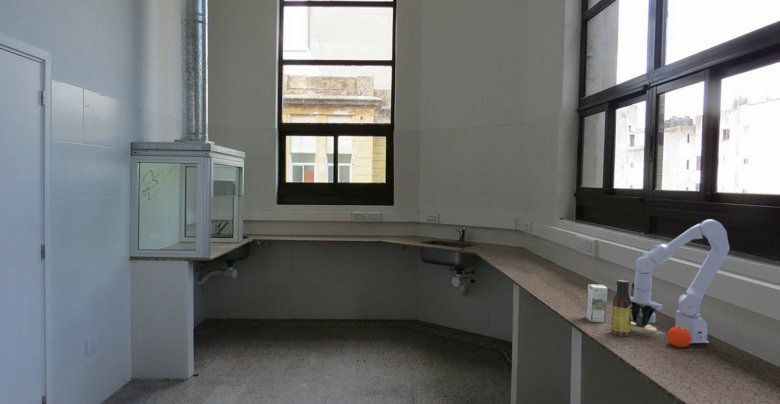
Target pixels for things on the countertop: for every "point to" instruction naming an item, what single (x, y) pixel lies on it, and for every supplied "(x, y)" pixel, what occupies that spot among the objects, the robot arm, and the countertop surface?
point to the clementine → (679, 336)
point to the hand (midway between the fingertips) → (640, 323)
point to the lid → (640, 328)
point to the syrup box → (596, 303)
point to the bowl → (652, 318)
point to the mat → (647, 334)
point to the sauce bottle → (622, 310)
